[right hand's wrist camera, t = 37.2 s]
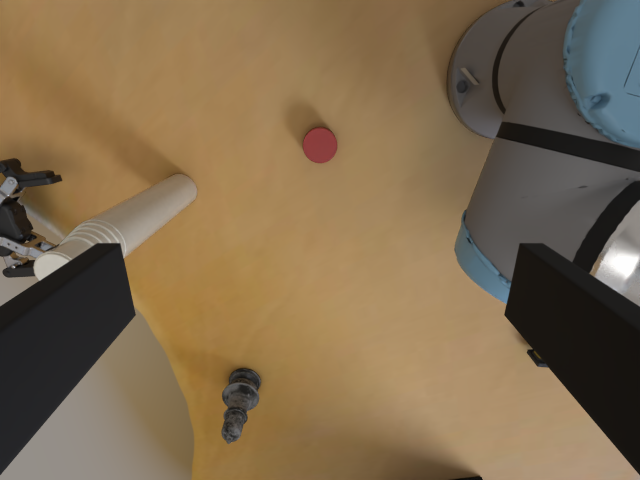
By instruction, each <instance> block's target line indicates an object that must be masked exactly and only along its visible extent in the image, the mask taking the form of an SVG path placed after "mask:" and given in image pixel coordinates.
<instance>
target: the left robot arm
mask: <svg viewBox="0 0 640 480" xmlns="http://www.w3.org/2000/svg"><path fill="white" fill-rule="evenodd" d="M1 172H2V173H3V174H4V176H5V177H6V180H5V181H4V183H3V184H2V185H1V187H0V256H2V257H3V258H4V261H5V263H6V266H7V268H6V269H4V270H3V274H4V276H6V277H28V276H35V274H34V268H33V267H34V262H35V260H29V259H28V258H23V257H19V256H17V255H16V254H15V252H17V253H19V254H21V255H25V256H26V255H29V256H32V257H34V258H36V259H37V257H38V256H40V255H41V254H43V253H44V252H46V251H49V250H52V249H54V248H56V247H58V246H59V244H58V245H54V244H52V243H50V242H48V241H46V238H45V237H43V236H41V235H39V234H37V233H35V232H33V231H31V230H32V229H33V227H32V224H31V223H30V221H29V220H28V218H27V216H26V210H25V208H24V206H23V205H22V206H21V205H20V204H19V203H18V202H19V201H20V199H21V198H22V197H23V195H24V194H25V193H26V191H25V189H26V188H27V187H32V186H40V185H48V184H53V183H56V182H59V181H62V178H61V175H55V174H54V172H53V171H50V170H47V171H39V172H31V173H28V172H25V171H23V170H22V168H21V163H20V161H19V160H18V159H15V158H13V159H8V160H3V161H0V173H1ZM26 240H27V241H30V242H28V243H25V242H26Z"/></svg>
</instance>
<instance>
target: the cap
mask: <svg viewBox="0 0 640 480" xmlns="http://www.w3.org/2000/svg"><path fill="white" fill-rule="evenodd" d="M303 150H304V153H305V155H306V156H307V157H308V158H309V159H310V160H311V161H313V162H316V163H324V162H327V161H329V160H330V159H331V158H333V156H334V155H335V153H336V150H337V141H336V138H335V136H334V134H333V133H332V132H331V131H330V130H329V129H327V128H324V127H316V128H313V129H311V130H310V131H309V132H308V133H307V134H306V136H305V138H304V142H303Z"/></svg>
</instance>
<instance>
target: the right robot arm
mask: <svg viewBox="0 0 640 480" xmlns="http://www.w3.org/2000/svg"><path fill="white" fill-rule="evenodd" d="M447 92H448V97H449V102H450V104H451V107H452V109H453V111H454V113H455V115H456V117H457V118H458V119H459V121H460V122H461V123H462V124H463V125H464V126H465V127H466V128H468V129H469V130H470V131H472V132H474V133H476V134H478V135H480V136H483V137H487V138H491V139H494V141H493V144H492V147H491V149H490V152H489V154H488V157H487V159H486V162H485V164H484V167H483V169H482V172H481V175H480V177H479V180H478V182H477V185H476V187H475V190H474V192H473V195H472V197H471V200H470V203H469V205H468V208H467V210H465V211H464V213H463V215H462V219H461V227H460V230H459V233H458V236H457V239H456V242H455V253H456V256H457V261H458V263H459V265H460V266H461V268H462V269H463V271H464V272H465V273H466V274H467V275H468V276H469V277H470V278H471V279H472V280H473V281H474V282H475V283H476V284H477V285H479V286H480V287H481V288H482V289H484V290H485V291H486V292H488V293H489V294H491V295H492V296H494V297H495V298H497V299H499V300H500V301H502V302H504V303H506V304H507V305H506V310H505V314H504V315H505V316H506V318H507V319H508V320H509V321H510V322H511V323H512V325H513V326H514V327H515V328H516V329H517V331H518V332H519V333H520V334H521V335H522V336H523V338H524V339H525V340H526V341H527V342H528V344H529V345H530V346H531V347H532V348H533V349H534V351H535V352H536V353H537V354H538V355H539V357H540V358H541V359H542V360H543V361H544V362H545V364H546V365H547V366H548V367H549V368H550V370H551V371H552V372H553V373H554V374H555V375H556V377H557V378H558V379H559V380H560V381H561V383H562V384H563V385H564V386H565V387H566V388H567V390H568V391H569V392H570V393H571V394H572V396H573V397H574V398H575V399H576V400H577V401H578V403H579V404H580V405H581V406H582V407H583V409H584V410H585V411H586V412H587V413H588V414H589V416H590V417H591V418H592V419H593V420H594V422H595V423H596V424H597V425H598V426H599V427H600V429H601V430H602V431H603V432H604V433H605V435H606V436H607V437H608V438H609V439H610V440H611V442H612V443H613V444H614V445H615V446H616V448H617V449H618V450H619V451H620V452H621V453H622V455H623V456H624V457H625V458H626V459H627V461H628V462H629V463H630V464H631V465H632V466H633V468H634V469H635V470H636V471H637V472H638V474H639V475H640V0H557V1H555V2H552V1H548V0H512V1H509V2H506V3H504V4H501V5H499V6H497V7H495V8H493V9H492V10H490V11H488V12H486V13H485V14H483V15H482V16H481V17H479V18H478V19H477V20H476V21H475V22H474V23H473V24H472V25H471V26H470V27H469V28H468V29H467V30H466V31H465V33H464V34H463V35H462V37H461V38H460V40H459V42H458V43H457V45H456V47H455V49H454V52H453V54H452V57H451V60H450V63H449V67H448V74H447ZM135 315H136V314H135V310H134V305H133V300H132V296H131V291H130V286H129V281H128V277H127V272H126V267H125V262H124V258H123V253H122V248H121V243H96V244H95V245H93V246H92V247H90V248H89V249H87V250H86V251H84V252H83V253H81V254H80V255H78V256H77V257H75V258H74V259H72V260H71V261H69V262H67V263H66V264H64V265H63V266H61V267H60V268H58V269H57V270H55V271H54V272H52V273H51V274H49V275H48V276H46V277H45V278H43V279H42V280H40V281H39V282H37V283H35V284H34V285H32V286H31V287H29V288H28V289H26V290H25V291H23V292H22V293H20V294H19V295H17V296H16V297H14V298H12V299H11V300H9V301H8V302H6V303H5V304H3V305H2V306H0V475H1V474H2V472H3V471H4V470H5V469H6V468H7V466H8V465H9V464H10V463H11V462H12V461H13V459H14V458H15V457H16V456H17V455H18V453H19V452H20V451H21V450H22V449H23V447H24V446H25V445H26V444H27V443H28V442H29V440H30V439H31V438H32V437H33V436H34V435H35V433H36V432H37V431H38V430H39V429H40V427H41V426H42V425H43V424H44V423H45V421H46V420H47V419H48V418H49V417H50V416H51V414H52V413H53V412H54V411H55V410H56V409H57V407H58V406H59V405H60V404H61V403H62V401H63V400H64V399H65V398H66V397H67V396H68V394H69V393H70V392H71V391H72V390H73V388H74V387H75V386H76V385H77V384H78V383H79V381H80V380H81V379H82V378H83V377H84V375H85V374H86V373H87V372H88V371H89V370H90V368H91V367H92V366H93V365H94V364H95V362H96V361H97V360H98V359H99V358H100V357H101V355H102V354H103V353H104V352H105V351H106V349H107V348H108V347H109V346H110V345H111V343H112V342H113V341H114V340H115V339H116V338H117V336H118V335H119V334H120V333H121V332H122V331H123V329H124V328H125V327H126V326H127V325H128V323H129V322H130V321H131V320H132V319H133V317H134V316H135Z"/></svg>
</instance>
